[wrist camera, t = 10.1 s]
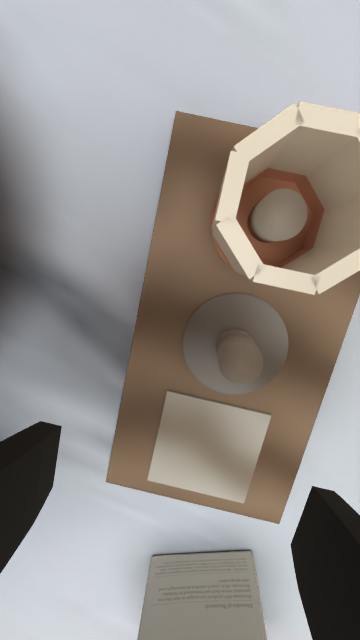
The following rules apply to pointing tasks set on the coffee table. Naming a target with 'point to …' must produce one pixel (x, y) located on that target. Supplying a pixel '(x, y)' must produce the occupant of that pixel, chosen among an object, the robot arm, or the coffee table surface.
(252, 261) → the sleeve
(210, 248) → the pin board
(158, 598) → the supplement box
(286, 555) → the coffee table surface
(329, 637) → the robot arm
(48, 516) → the coffee table surface
